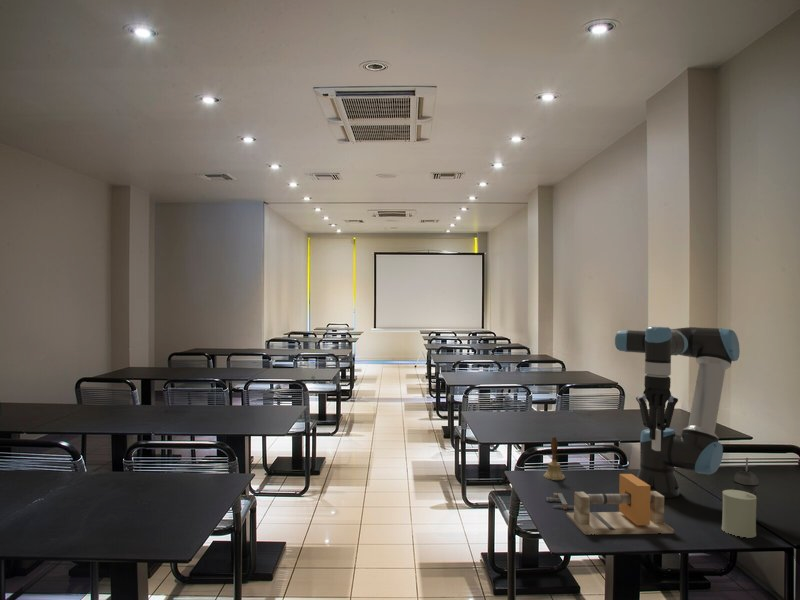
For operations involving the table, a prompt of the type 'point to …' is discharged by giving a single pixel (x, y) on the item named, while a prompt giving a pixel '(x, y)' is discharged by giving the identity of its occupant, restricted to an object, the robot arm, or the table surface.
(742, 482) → the beverage cup
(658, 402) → the robot arm
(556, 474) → the hand bell
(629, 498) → the pipe rig
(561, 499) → the clamp
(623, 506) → the orange slotted block
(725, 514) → the pale green cylinder
